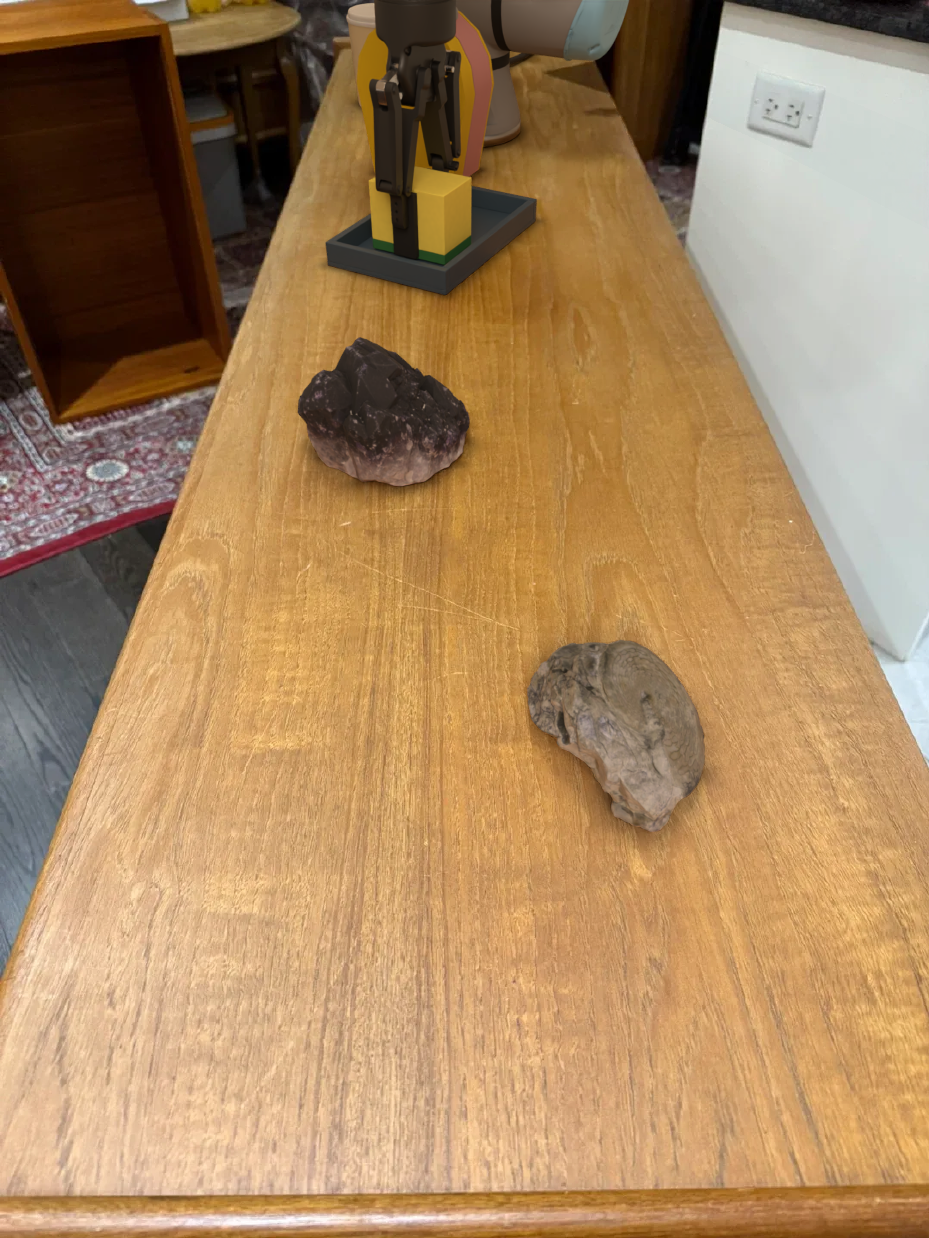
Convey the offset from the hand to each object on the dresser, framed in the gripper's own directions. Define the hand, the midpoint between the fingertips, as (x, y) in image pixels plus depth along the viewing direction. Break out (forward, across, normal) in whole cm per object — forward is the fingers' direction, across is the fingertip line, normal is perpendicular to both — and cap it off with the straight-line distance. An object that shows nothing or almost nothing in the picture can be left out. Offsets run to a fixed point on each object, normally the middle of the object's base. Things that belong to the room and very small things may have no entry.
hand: (422, 243), depth 96 cm
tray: (+1, +3, 0) cm, 3 cm away
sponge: (0, 0, 0) cm, 0 cm away
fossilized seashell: (+1, -52, -43) cm, 67 cm away
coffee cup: (+1, +43, +32) cm, 54 cm away
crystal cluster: (+1, -33, -16) cm, 37 cm away
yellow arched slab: (+1, +22, +12) cm, 25 cm away
